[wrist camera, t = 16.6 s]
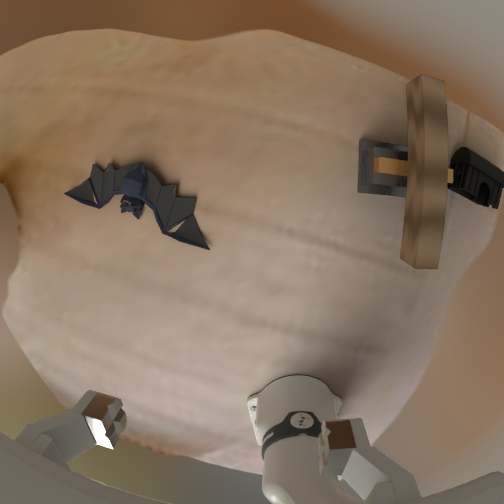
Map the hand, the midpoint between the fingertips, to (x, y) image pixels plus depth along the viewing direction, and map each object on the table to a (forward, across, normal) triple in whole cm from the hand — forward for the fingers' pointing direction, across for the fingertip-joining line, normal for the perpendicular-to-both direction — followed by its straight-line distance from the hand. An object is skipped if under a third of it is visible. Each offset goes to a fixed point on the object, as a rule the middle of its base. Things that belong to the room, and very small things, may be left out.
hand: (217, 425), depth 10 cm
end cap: (+38, -36, -13) cm, 53 cm away
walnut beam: (+29, -21, -12) cm, 38 cm away
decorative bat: (+38, +20, -7) cm, 44 cm away
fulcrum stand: (+37, -21, -12) cm, 44 cm away
